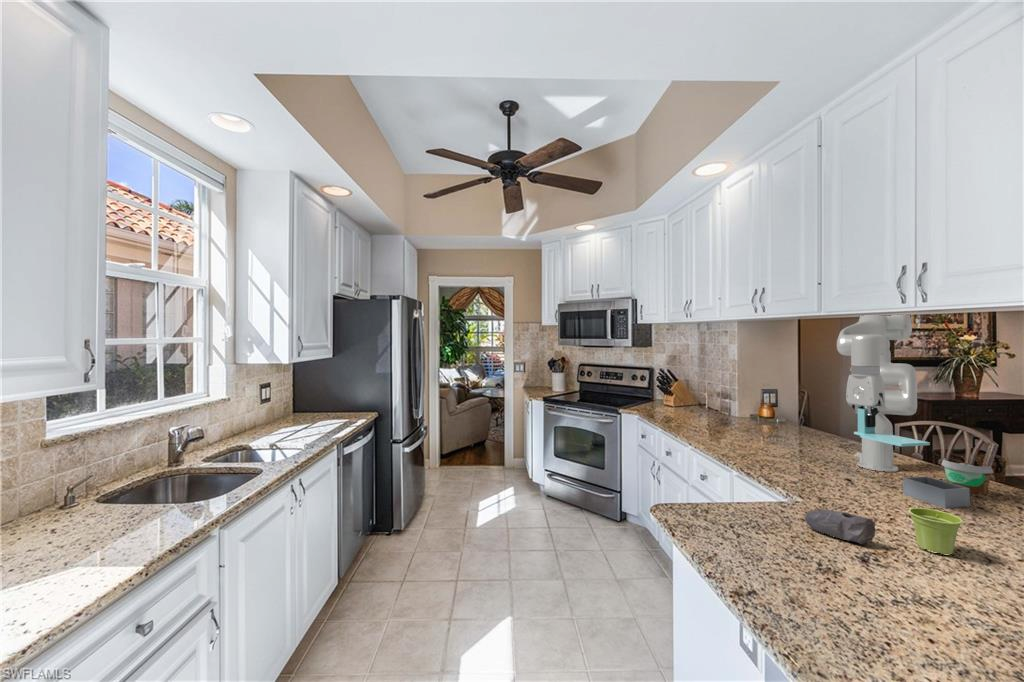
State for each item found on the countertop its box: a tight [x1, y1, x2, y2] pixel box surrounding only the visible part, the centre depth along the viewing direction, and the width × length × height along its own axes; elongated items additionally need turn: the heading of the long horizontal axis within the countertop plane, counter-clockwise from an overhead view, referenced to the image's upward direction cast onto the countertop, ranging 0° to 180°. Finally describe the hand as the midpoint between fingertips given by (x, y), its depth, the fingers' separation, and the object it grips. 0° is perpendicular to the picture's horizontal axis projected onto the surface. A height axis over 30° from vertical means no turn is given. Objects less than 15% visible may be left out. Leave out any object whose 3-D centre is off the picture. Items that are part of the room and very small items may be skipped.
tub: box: [902, 475, 971, 509], centre depth 135 cm, size 12×9×6 cm
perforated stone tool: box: [804, 509, 877, 545], centre depth 112 cm, size 15×5×7 cm, turn 36°
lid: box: [853, 408, 931, 447], centre depth 136 cm, size 17×10×9 cm, turn 8°
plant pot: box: [908, 507, 963, 555], centre depth 105 cm, size 9×9×9 cm
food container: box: [941, 457, 994, 497], centre depth 143 cm, size 12×6×10 cm, turn 25°
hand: (866, 425), depth 143 cm, fingers closed on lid
